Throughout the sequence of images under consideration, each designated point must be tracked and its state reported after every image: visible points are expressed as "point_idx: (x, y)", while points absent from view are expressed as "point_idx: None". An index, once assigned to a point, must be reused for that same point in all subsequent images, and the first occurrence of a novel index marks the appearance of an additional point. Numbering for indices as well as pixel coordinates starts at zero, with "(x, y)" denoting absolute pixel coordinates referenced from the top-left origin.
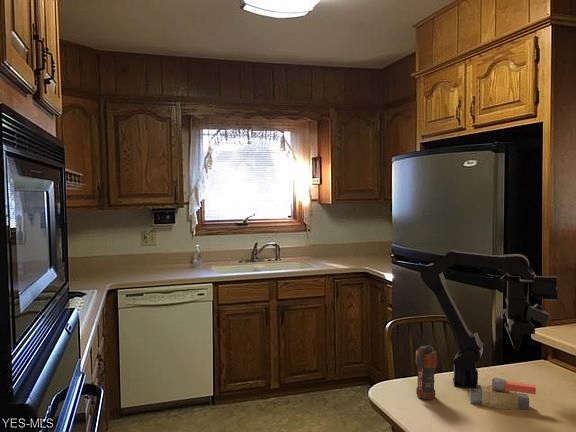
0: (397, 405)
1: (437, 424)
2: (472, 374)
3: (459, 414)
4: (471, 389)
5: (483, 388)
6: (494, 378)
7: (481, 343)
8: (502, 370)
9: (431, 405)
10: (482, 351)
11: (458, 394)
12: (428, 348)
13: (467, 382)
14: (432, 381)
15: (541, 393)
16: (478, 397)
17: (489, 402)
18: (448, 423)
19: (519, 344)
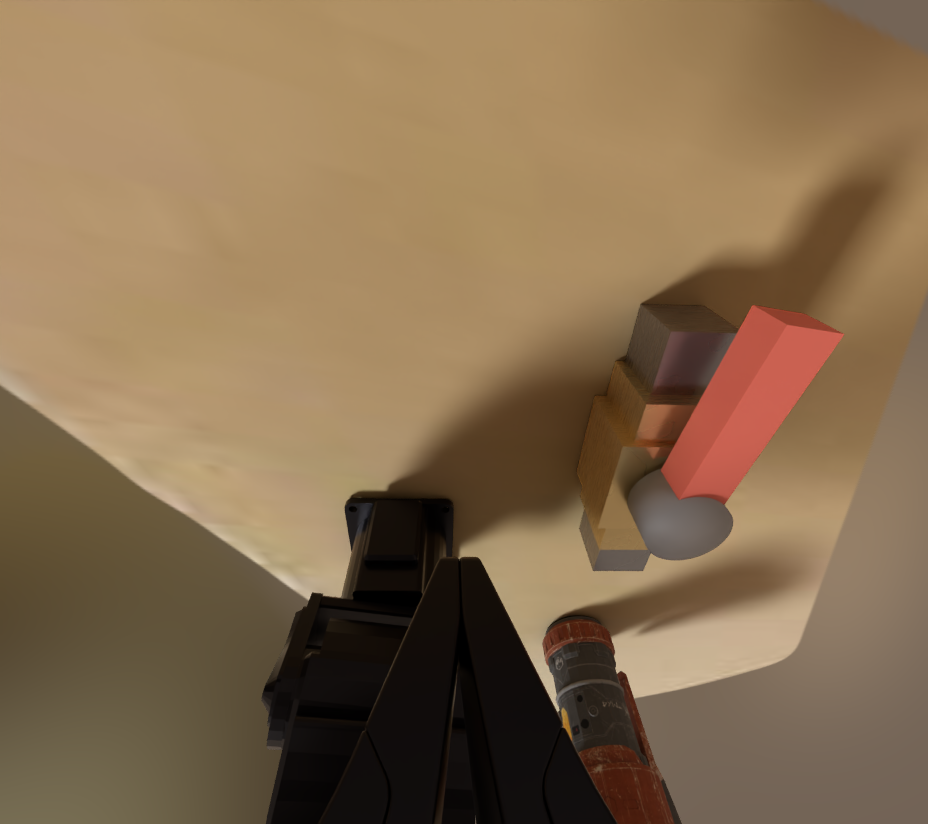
0: (647, 675)
1: (791, 609)
2: (429, 563)
3: (725, 562)
4: (609, 566)
5: (635, 542)
6: (653, 548)
7: (336, 744)
8: (33, 333)
9: (646, 619)
10: (347, 660)
11: (533, 555)
12: None
13: (444, 546)
14: (616, 690)
15: (410, 140)
16: None
17: None
18: (790, 588)
19: (515, 639)
